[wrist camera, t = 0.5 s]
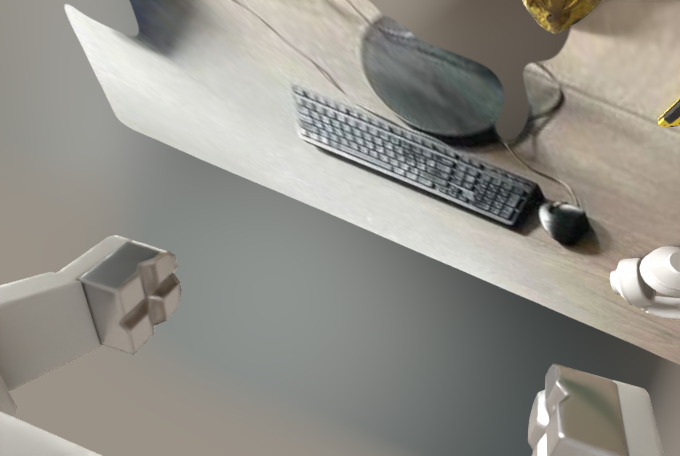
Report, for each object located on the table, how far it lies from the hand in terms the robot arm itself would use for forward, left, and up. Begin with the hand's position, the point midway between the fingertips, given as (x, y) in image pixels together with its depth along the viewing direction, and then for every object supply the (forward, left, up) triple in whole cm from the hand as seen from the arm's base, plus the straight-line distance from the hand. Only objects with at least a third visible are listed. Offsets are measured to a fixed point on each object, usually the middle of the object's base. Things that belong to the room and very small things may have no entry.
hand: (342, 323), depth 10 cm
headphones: (+76, +10, -51) cm, 92 cm away
